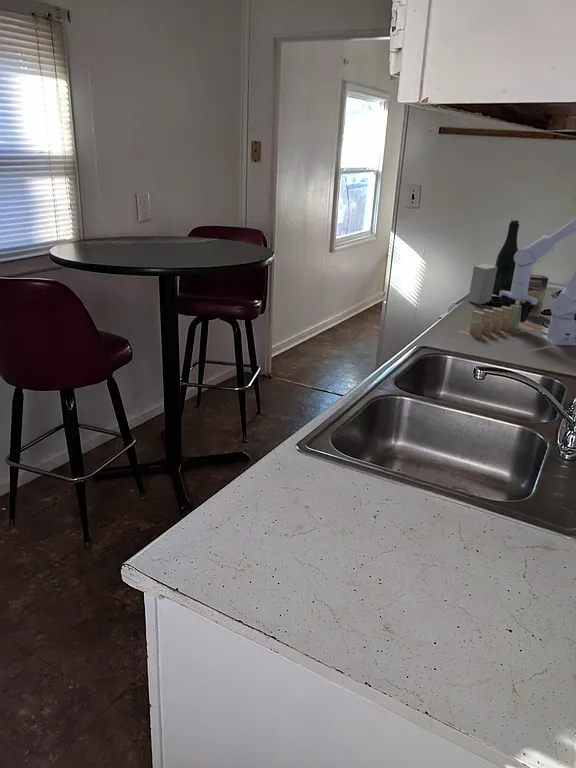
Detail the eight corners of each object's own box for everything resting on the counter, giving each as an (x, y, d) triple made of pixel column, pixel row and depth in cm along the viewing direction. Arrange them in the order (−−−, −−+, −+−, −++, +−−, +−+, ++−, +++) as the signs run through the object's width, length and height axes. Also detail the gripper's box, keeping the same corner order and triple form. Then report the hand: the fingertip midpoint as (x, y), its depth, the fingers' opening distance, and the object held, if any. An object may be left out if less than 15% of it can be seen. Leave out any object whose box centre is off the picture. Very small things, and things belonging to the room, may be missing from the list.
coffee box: (516, 316, 238) (524, 276, 232) (512, 312, 244) (520, 273, 238) (540, 318, 238) (548, 278, 232) (535, 314, 244) (543, 275, 238)
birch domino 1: (478, 336, 208) (482, 313, 205) (469, 333, 211) (472, 311, 208) (481, 335, 208) (485, 313, 205) (472, 332, 211) (475, 310, 209)
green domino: (515, 328, 219) (519, 307, 216) (506, 326, 222) (510, 304, 219) (518, 328, 220) (522, 307, 217) (509, 325, 223) (513, 304, 220)
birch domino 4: (506, 330, 216) (510, 309, 213) (497, 327, 219) (501, 306, 216) (509, 330, 217) (513, 308, 214) (500, 327, 220) (504, 305, 217)
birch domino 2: (488, 334, 210) (491, 312, 207) (478, 331, 213) (482, 309, 210) (490, 333, 211) (494, 311, 208) (481, 330, 214) (485, 308, 211)
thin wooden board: (483, 341, 203) (483, 340, 203) (455, 332, 213) (455, 331, 212) (547, 328, 223) (547, 327, 223) (519, 320, 233) (519, 319, 232)
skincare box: (478, 299, 264) (484, 263, 258) (492, 303, 259) (498, 266, 253) (466, 301, 259) (472, 264, 254) (480, 305, 254) (486, 267, 248)
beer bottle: (518, 295, 275) (532, 221, 263) (497, 295, 272) (511, 221, 260) (505, 290, 284) (518, 219, 272) (485, 290, 282) (498, 218, 270)
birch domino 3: (497, 332, 213) (501, 310, 210) (488, 329, 216) (492, 307, 213) (500, 331, 214) (504, 310, 211) (491, 329, 217) (494, 307, 214)
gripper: (545, 285, 211) (537, 322, 216) (510, 277, 222) (503, 313, 227) (533, 287, 208) (525, 325, 213) (498, 279, 218) (492, 315, 223)
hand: (513, 319), depth 220 cm, fingers open, 7 cm apart
